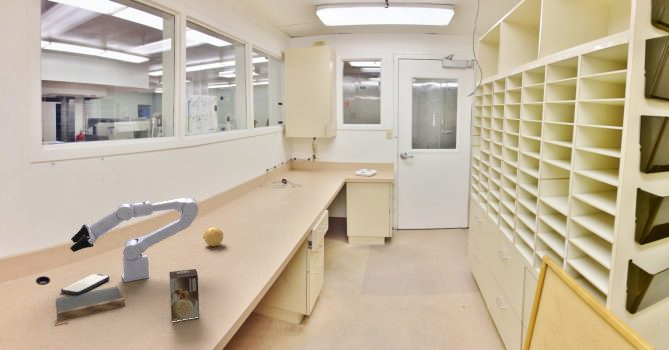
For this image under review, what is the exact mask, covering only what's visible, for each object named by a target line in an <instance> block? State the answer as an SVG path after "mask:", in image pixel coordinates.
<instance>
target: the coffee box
mask: <svg viewBox="0 0 669 350" xmlns="http://www.w3.org/2000/svg"><path fill="white" fill-rule="evenodd" d="M199 295H200V294H199V275H198V271H197V269H196V268H191V269H183V270H175V271H169V297H170V300H169V301H170V316H171V319H170V320H172V321H177V320H183V319H189V318H195V317H199V318H200V301H199V300H200V297H199ZM172 321H171V322H172Z"/></svg>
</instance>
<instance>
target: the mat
mask: <svg viewBox="0 0 669 350" xmlns="http://www.w3.org/2000/svg"><path fill="white" fill-rule="evenodd" d="M120 298H123V297H122V295H121V292H120V289H119V288H118V286H112V287H107V288H101V289H96V290H91V291H90V290H89V291H86V292H84V293H82V294H80V295H72V294H69V295H66V296H62V297H61V296H60V297H56V309H57V310H56V311H57V312H59V311H63V310H68V309H73V308H77V307H82V306H87V305H91V304H96V303H101V302H106V301H110V300H115V299H120Z"/></svg>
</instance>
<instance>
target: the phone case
mask: <svg viewBox="0 0 669 350" xmlns="http://www.w3.org/2000/svg"><path fill="white" fill-rule="evenodd" d="M109 280H110V275H106V274H100V273H92V274H90V275H87V276H85V277H83V278H82V279H79V280H77V281H75V282H73V283H71V284H69V285H67V286H64V287H63V288H61V289H60V290H61V291H60V292H61V294H65V295H80V294H82V293H85V292H89V291H90V290H91V289H94V288H95V287H98V286H100V285H101V284H103V283H105V282H107V281H109Z"/></svg>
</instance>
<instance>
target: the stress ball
mask: <svg viewBox="0 0 669 350" xmlns="http://www.w3.org/2000/svg"><path fill="white" fill-rule="evenodd" d="M203 240H204V242H205V244H206V245H208V246H210V247H212V248H213V247H217V246H219V245H220V244H221V243H222V242H223V240H224V233H223V231H222V229H220V228H218V227H215V226H213V227H209V228H208V229H207V230H205V232H204V233H203Z"/></svg>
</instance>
